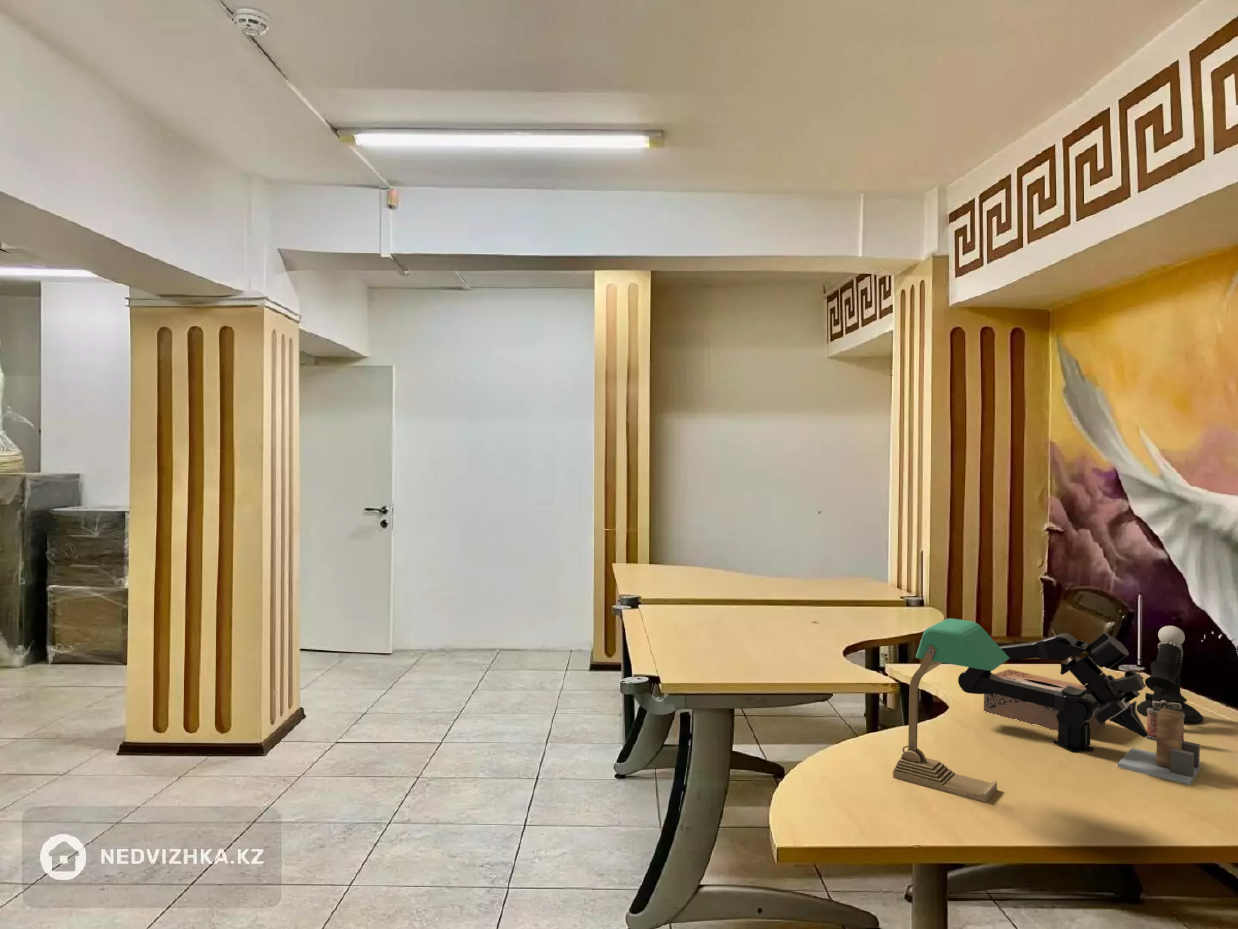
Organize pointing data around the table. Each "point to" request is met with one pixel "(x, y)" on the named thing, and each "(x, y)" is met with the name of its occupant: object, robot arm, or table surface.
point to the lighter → (1153, 717)
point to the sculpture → (1168, 675)
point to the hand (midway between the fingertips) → (1146, 736)
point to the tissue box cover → (1030, 710)
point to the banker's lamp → (937, 646)
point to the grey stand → (1180, 770)
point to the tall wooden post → (1168, 734)
